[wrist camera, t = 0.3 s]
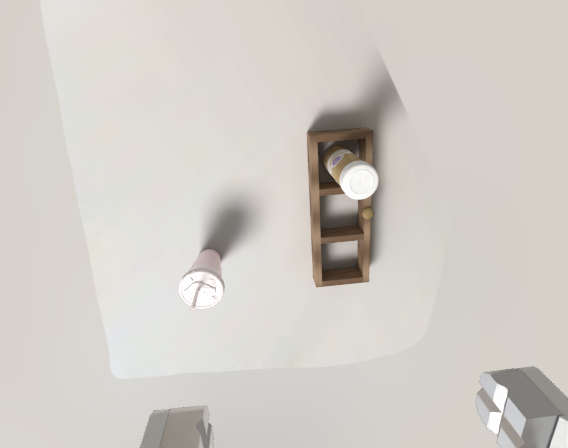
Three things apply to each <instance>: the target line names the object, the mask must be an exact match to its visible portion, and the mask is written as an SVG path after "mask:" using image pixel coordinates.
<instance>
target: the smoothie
mask: <svg viewBox="0 0 568 448" xmlns="http://www.w3.org/2000/svg"><path fill="white" fill-rule="evenodd" d="M224 287H225V286H224V281H223V280H222V274H221V260H220V255H219V254H218V253H217V252H216V251H215V250H212V249H206V250H203V251H202V252H201V253H200V254H199V256H198V257H197V259H196V261H195V262H194V264H193V265H192V267H191V268H190V270H189V271H188V272H187V273H186V274H185V275H184V276H183V277H182V279H181V282H180V286H179V292H180V295H181V297H182V299H183V300H184V301H185V302H186V303H187V304H189V305H190V306H191V308H190V309H191V310H194V309H195V307H196V308H209V307H212V306H214V305H215V304H217V303H218V302H219V301H220V300H221V298H222V296H223V293H224Z"/></svg>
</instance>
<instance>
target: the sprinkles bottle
mask: <svg viewBox="0 0 568 448" xmlns="http://www.w3.org/2000/svg"><path fill="white" fill-rule="evenodd" d="M323 164H324V167H325V169H326V170H327V171H328V172H329V173H330V174H331V175H332V177H333V178H334V179H335V180H336V181H337V183H338V184H339V185H340V186H341V188H342V190H343V191H344V192H345V194H346V195H348V196H349V197H351V198H353V199H358V200H360V199H365V198H367V197H369V196H371V195H372V194H373V193H374V192H375V190H376V189H377V187H378V183H379V176H378V173H377V171H376V169H375V168H374V167H373V166H371V165H370V164H369V163H367V162H365V161H363V160H361V159H360V158H358V157H357V156H356V155H354V154H353V153H352V152H350V151H349V150H348V149H347V148H346V147H344V146H339V145H337V146H333V147H331V148H329V149H328V150H327V151H326V152H325V155H324V157H323Z"/></svg>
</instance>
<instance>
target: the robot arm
mask: <svg viewBox="0 0 568 448" xmlns="http://www.w3.org/2000/svg"><path fill="white" fill-rule="evenodd" d="M479 383H480V384H481V385H482V387H483V388H482V389H481V390H480V391H479V392H478V393H477V396H476V406H477V411H478V413H479V416H480V418H481V420H482V421H483V423H484V424H485V426H486V428H488V429H489V430H491V431H492V432H494V433H495V434H497V444H498V445H499V447H500V448H568V398H567V397H566V396H565V395H564V394H563V393H562V392H561V391H560V390H559V389H558V388H557V387H556V386H555V385H554V384H553V383H552V382H551V381H550V380H549V379H548V378H547V377H546V376H545V375H544V374H543V373H542V372H541V371H540V370H539V369H537V368H536V367H525V368H517V369H506V370H498V371H491V372H484V373H483V374H482V375H481V376H480V380H479ZM208 421H209V410H208V406H206V405H205V406H194V407H182V408H172V409H163V410H154V411H153V412H152V414H151V415H150V417H149V421H148V423H147V426H146V430H145V433H144V436H143V439H142V442H141V445H140V448H214V438H213V430H212V425H211V424H209V423H208Z"/></svg>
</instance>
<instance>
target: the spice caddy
mask: <svg viewBox="0 0 568 448" xmlns="http://www.w3.org/2000/svg"><path fill="white" fill-rule="evenodd" d="M353 139H359V158H360V159H361V160H363V161H365V162H367V163H369V164H370V165H371V166H372V150H373V130H370V129H367V128H358V129H346V130H333V131H321V132H309V133H307V148H308V171H309V194H310V217H311V240H312V263H313V278H314V281H315V284H316V287H324V286H333V285H343V284H353V283H362V282H369V260H370V224H371V218H372V217H373V215H374V211H373V210H372V209H371V196H369V197H367V198H365V199H360V200H358V226H349V227H339V228H329V229H320V201H319V196H326V195H337V194H345V192H344V191H343V190H342V188H341V186H340V185H339V184H338V183H337V182H327V183H319V170H318V142H330V141H341V140H353ZM355 240H358V265H357V267H354V268H344V269H334V270H325V271H322V263H321V244H325V243H335V242H345V241H355Z"/></svg>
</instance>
